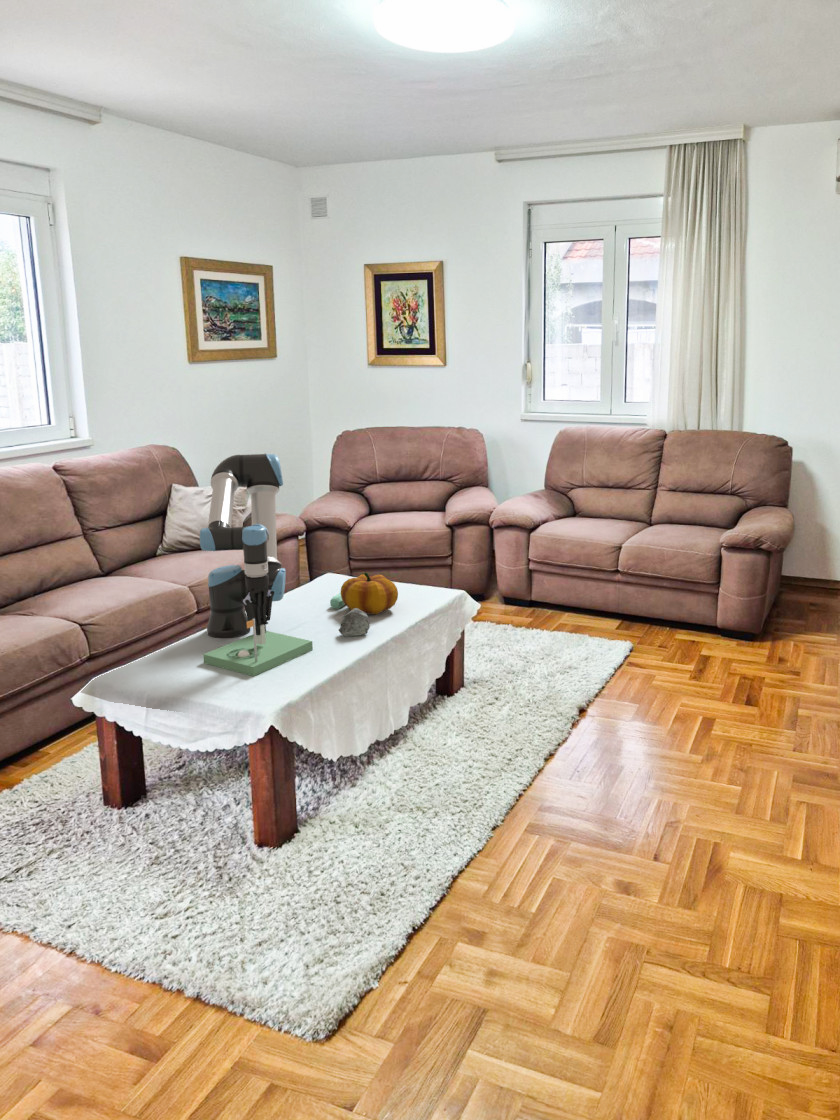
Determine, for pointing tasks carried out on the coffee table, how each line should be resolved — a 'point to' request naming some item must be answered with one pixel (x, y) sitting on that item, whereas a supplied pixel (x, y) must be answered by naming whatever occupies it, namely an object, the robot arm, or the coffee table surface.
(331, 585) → the coffee table surface
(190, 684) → the coffee table surface
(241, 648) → the green
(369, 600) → the decorative pumpkin
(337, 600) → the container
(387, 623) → the coffee table surface
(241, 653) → the ball
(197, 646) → the coffee table surface
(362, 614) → the stone
